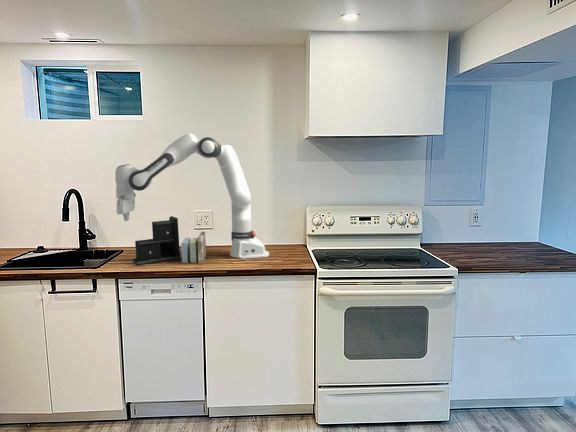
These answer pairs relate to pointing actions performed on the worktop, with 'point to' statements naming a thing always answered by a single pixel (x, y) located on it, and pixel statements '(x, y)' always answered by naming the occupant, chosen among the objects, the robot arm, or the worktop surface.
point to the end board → (201, 247)
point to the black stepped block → (159, 244)
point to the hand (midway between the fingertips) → (126, 220)
